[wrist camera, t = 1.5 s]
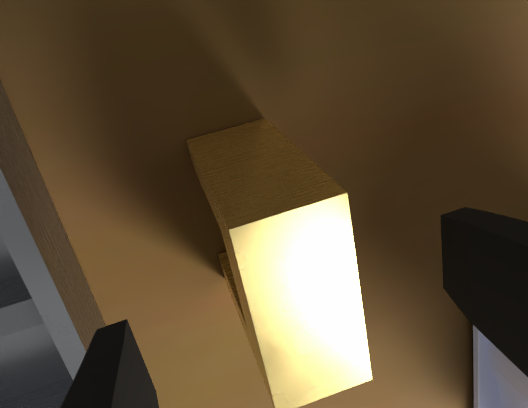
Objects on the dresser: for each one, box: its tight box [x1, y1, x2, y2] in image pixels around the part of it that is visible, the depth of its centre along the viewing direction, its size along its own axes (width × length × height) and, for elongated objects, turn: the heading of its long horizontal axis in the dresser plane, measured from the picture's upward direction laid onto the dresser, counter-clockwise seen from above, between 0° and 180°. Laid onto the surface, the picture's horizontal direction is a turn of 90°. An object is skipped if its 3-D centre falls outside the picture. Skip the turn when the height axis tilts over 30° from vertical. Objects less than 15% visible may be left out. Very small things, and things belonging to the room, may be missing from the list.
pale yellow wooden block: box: [186, 119, 372, 408], centre depth 13 cm, size 5×2×6 cm, turn 11°
